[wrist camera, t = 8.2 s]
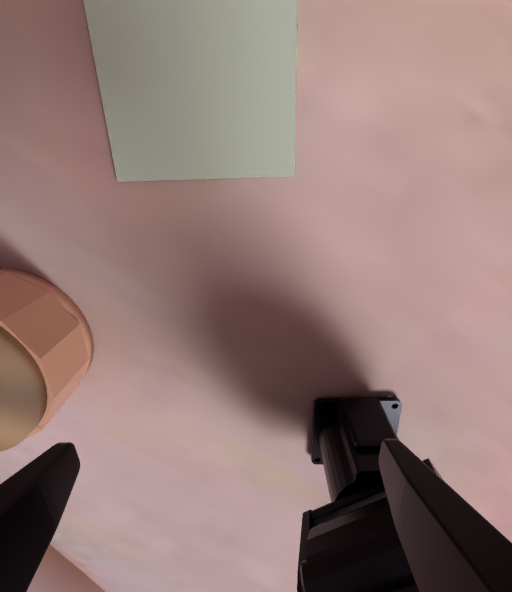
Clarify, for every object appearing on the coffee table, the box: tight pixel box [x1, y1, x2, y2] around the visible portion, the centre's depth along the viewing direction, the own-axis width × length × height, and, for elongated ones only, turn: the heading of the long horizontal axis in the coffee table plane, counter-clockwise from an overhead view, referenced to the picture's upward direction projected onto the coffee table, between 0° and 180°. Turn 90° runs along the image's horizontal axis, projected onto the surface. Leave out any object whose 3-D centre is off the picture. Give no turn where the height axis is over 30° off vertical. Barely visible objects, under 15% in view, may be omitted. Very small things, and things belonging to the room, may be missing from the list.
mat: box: [83, 0, 297, 182], centre depth 16 cm, size 10×10×1 cm
